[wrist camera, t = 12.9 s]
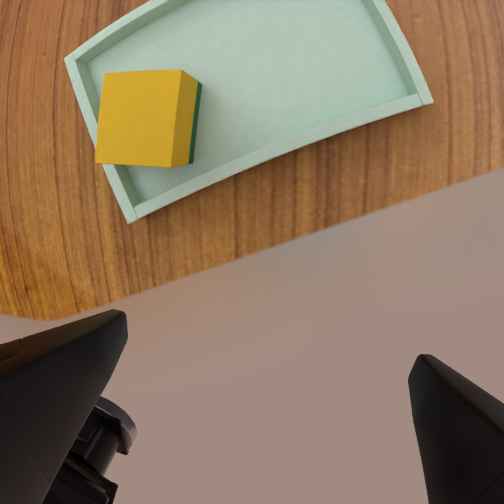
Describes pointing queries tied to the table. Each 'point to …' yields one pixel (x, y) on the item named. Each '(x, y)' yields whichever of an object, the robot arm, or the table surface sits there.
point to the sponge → (148, 118)
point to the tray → (251, 81)
